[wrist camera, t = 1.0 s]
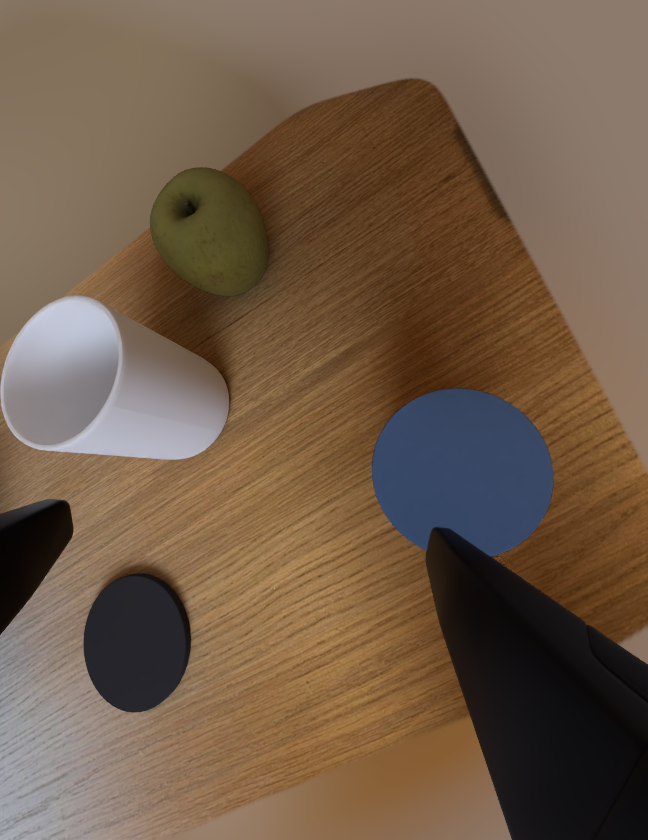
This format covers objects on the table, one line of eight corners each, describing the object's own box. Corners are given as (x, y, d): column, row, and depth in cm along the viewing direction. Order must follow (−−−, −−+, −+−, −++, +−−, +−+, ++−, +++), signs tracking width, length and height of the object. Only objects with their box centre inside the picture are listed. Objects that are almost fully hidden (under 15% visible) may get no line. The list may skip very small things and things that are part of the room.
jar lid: (569, 457, 14) (595, 453, 12) (472, 582, 15) (481, 600, 13) (433, 373, 17) (434, 357, 14) (350, 484, 17) (339, 484, 15)
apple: (249, 208, 29) (197, 126, 22) (303, 266, 27) (263, 195, 20) (185, 270, 30) (115, 209, 23) (232, 332, 28) (170, 284, 21)
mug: (118, 360, 30) (-27, 304, 21) (191, 305, 29) (73, 218, 19) (166, 480, 27) (19, 481, 17) (250, 424, 26) (144, 391, 16)
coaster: (213, 637, 24) (208, 641, 23) (139, 737, 24) (132, 743, 24) (137, 548, 27) (131, 549, 26) (71, 638, 27) (64, 642, 26)
